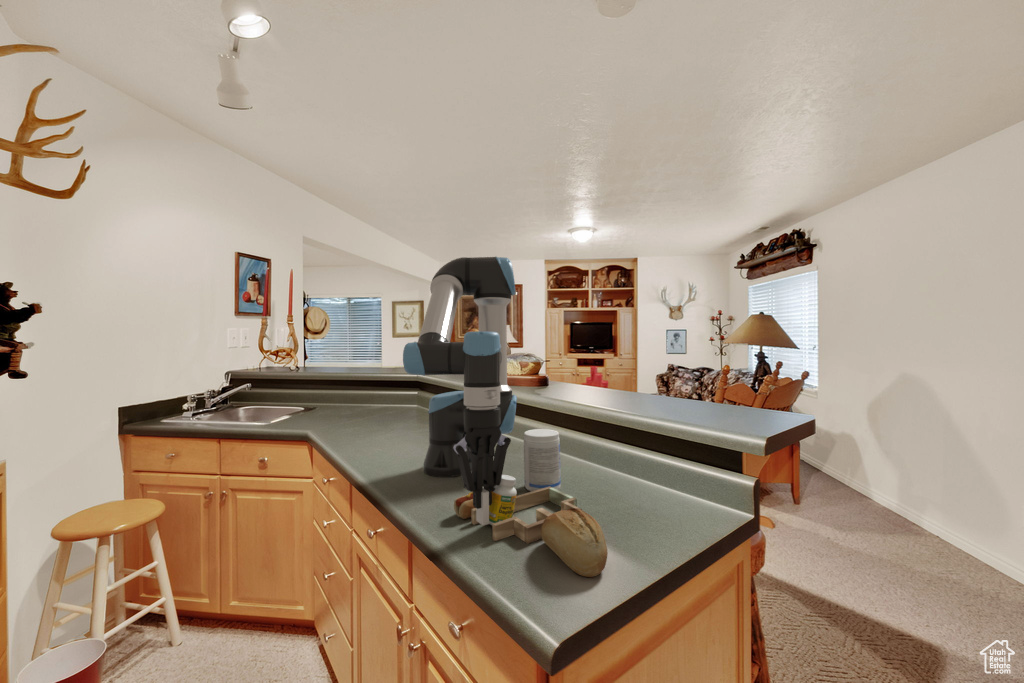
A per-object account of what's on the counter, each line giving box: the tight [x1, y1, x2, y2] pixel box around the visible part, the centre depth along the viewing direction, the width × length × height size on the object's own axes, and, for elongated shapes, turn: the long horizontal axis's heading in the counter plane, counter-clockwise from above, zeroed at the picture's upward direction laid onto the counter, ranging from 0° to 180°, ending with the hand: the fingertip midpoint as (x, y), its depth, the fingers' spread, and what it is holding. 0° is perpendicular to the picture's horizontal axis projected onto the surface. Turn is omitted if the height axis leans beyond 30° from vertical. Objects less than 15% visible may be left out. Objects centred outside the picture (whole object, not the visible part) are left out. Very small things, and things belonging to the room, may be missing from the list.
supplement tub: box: [523, 428, 562, 492], centre depth 104 cm, size 10×10×15 cm
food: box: [453, 492, 475, 520], centre depth 91 cm, size 14×6×5 cm, turn 134°
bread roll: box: [541, 508, 609, 578], centre depth 71 cm, size 10×15×8 cm, turn 28°
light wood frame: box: [470, 486, 583, 545], centre depth 85 cm, size 14×22×3 cm, turn 125°
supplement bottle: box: [488, 474, 518, 526], centre depth 84 cm, size 5×5×10 cm
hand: (482, 522), depth 81 cm, fingers closed
